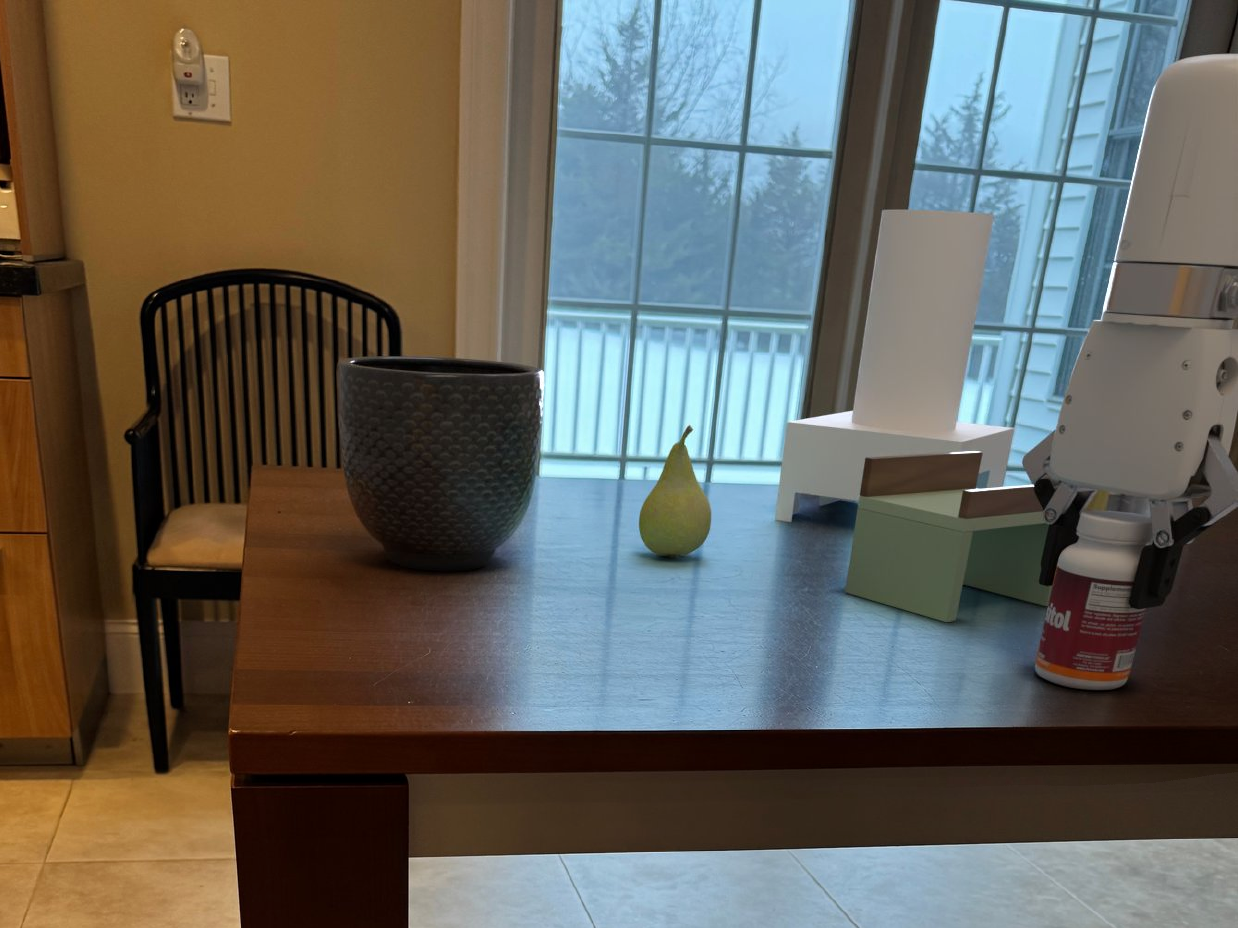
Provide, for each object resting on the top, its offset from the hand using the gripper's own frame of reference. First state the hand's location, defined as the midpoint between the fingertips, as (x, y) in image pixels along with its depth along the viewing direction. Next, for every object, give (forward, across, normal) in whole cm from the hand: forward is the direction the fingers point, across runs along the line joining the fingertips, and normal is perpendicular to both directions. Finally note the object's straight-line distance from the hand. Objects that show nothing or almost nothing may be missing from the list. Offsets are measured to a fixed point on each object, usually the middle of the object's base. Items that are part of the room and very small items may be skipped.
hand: (1100, 592), depth 87 cm
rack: (+6, +20, -11) cm, 24 cm away
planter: (+6, +50, +22) cm, 55 cm away
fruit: (+6, +43, +1) cm, 43 cm away
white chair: (+6, +49, -35) cm, 61 cm away
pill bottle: (+6, 0, 0) cm, 6 cm away
